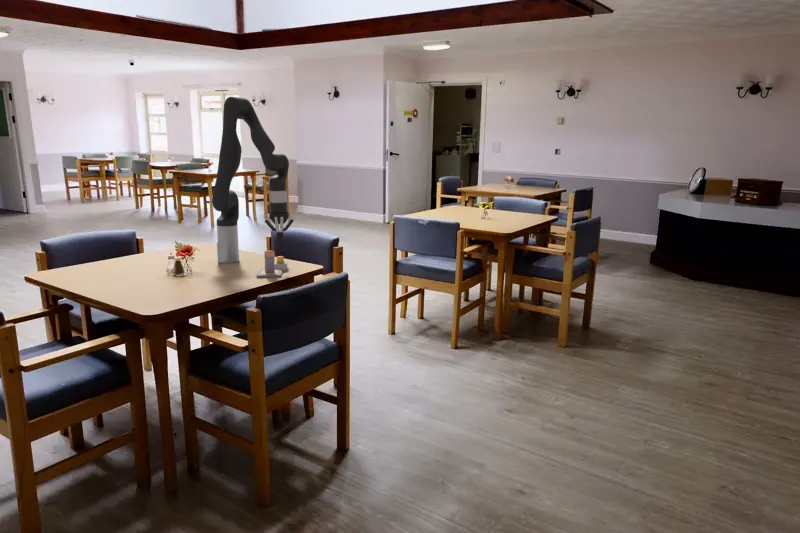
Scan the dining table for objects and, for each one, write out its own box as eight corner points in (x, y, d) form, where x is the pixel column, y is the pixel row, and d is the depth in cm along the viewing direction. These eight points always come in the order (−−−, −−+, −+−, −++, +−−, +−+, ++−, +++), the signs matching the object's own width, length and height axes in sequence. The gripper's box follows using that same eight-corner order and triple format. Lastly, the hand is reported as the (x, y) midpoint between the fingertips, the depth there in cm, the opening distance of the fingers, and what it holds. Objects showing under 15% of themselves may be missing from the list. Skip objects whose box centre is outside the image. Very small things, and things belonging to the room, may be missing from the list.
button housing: (273, 270, 249) (273, 264, 248) (274, 267, 254) (274, 261, 253) (286, 270, 250) (286, 263, 249) (287, 267, 255) (287, 261, 254)
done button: (276, 264, 250) (276, 257, 249) (277, 262, 252) (277, 256, 252) (283, 264, 250) (283, 257, 249) (284, 262, 253) (283, 256, 252)
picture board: (256, 277, 236) (256, 275, 236) (258, 272, 246) (258, 269, 245) (281, 277, 238) (280, 274, 237) (282, 271, 247) (282, 269, 247)
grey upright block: (264, 273, 239) (264, 252, 237) (265, 270, 243) (264, 250, 241) (274, 273, 240) (274, 252, 238) (275, 270, 244) (274, 250, 242)
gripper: (294, 199, 250) (295, 238, 254) (263, 200, 248) (265, 239, 252) (293, 201, 242) (295, 241, 246) (262, 202, 240) (264, 242, 244)
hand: (280, 240), depth 249 cm, fingers closed
